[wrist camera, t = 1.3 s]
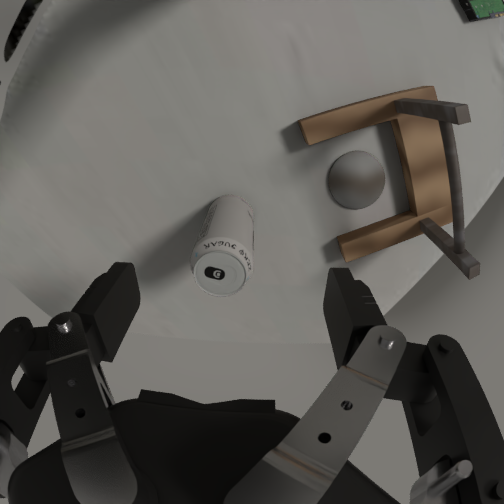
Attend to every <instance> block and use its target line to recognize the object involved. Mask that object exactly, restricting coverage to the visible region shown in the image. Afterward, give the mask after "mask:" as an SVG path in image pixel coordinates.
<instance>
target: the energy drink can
mask: <svg viewBox="0 0 504 504" xmlns="http://www.w3.org/2000/svg"><path fill="white" fill-rule="evenodd" d="M190 266H191V270H192V273H193V275H194V279H195V282H196V283H197V285H198V286H199V287H200V288H201V289H202V290H203V291H204V292H206V293H208V294H210V295H213V296H218V297H226V296H230V295H233V294H235V293H237V292H238V291H240V290H241V289H242V287H243V286H244V284H245V283H247V281H248V280H249V279H250V277H251V275H252V273H253V268H254V213H253V210H252V207H251V206H250V204H249V203H248V202H247V201H246V200H245V199H243V198H241V197H239V196H236V195H225V196H222V197H219V198H218V199H216V200H215V201H214V202H213V203H212V204H211V206H210V208H209V210H208V213H207V215H206V218H205V221H204V223H203V226H202V228H201V231H200V233H199V236H198V239H197V241H196V244H195V247H194V249H193V252H192V255H191V259H190Z"/></svg>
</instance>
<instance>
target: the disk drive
mask: <svg viewBox="0 0 504 504" xmlns="http://www.w3.org/2000/svg"><path fill="white" fill-rule="evenodd" d="M459 2H460V4H461V6H462V8H463V10H464V11H465V13H466V15H467V17H468V19H469V21H470V22H472V21H477V20H482V19H488V18H494V17H499V16H504V1H503V0H459Z"/></svg>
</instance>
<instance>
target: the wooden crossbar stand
mask: <svg viewBox="0 0 504 504" xmlns="http://www.w3.org/2000/svg"><path fill="white" fill-rule="evenodd" d="M389 120H390V121H391V125H392V129H393V132H394V136H395V140H396V144H397V148H398V152H399V156H400V160H401V165H402V169H403V174H404V179H405V184H406V189H407V195H408V200H409V206H410V210H409V211H406V212H404V213H401V214H398V215H395V216H393V217H390V218H387V219H384V220H382V221H379V222H376V223H373V224H371V225H368V226H365V227H362V228H359V229H357V230H354V231H351V232H348V233H345V234H343V235H340V236H337V239H338V243H339V246H340V250H341V253H342V256H343V258H344V260H345V262H349V261H352V260H355V259H357V258H360V257H363V256H366V255H368V254H371V253H374V252H376V251H379V250H382V249H384V248H387V247H390V246H392V245H395V244H398V243H400V242H403V241H405V240H408V239H411V238H413V237H416V236H418V235H421V234H423V233H424V234H425V235H426V236H427V237H428V238H429V239H430V240H431V241H432V242H433V243H434V244H435V245H436V246H438V247H439V248H440V250H441V251H442V252H443V253H444V254H446V256H447V257H448V258H449V259H450V260H451V261H452V262H453V263H454V264H455V265H456V266H457V267H458V268H459V269H460V270H461V271H462V272H463V273H464V275H465V276H466V277H467V278H468V279H469V280H470V279H472V278H474V277H476V276H477V275H479V273H480V263H479V262H478V261H477V260H476V259H475V258H474V257H473V256H472V255H471V254H470V253H469V252H468V251H467V250H466V249H465V235H464V234H465V233H464V210H463V197H462V186H461V177H460V169H459V162H458V155H457V149H456V143H455V137H454V132H453V127H452V123H453V124H457V125H460V124H464V123H468V122H471V119H470V114H469V109H468V105H467V104H460V103H453V102H445V101H438V100H437V96H436V92H435V89H434V86H422V87H417V88H412V89H408V90H403V91H399V92H394V93H390V94H386V95H382V96H378V97H374V98H370V99H366V100H363V101H359V102H355V103H352V104H348V105H345V106H341V107H338V108H335V109H331V110H328V111H325V112H322V113H319V114H315V115H312V116H309V117H306V118H303V119H300V120H297V121H298V123H299V126H300V128H301V131H302V134H303V136H304V139H305V142H306V143H307V144H308V145H312V144H314V143H317V142H320V141H323V140H326V139H330V138H333V137H336V136H339V135H342V134H345V133H348V132H352V131H355V130H358V129H361V128H365V127H368V126H372V125H375V124H379V123H382V122H386V121H389ZM384 185H385V173H384V169H383V167H382V165H381V163H380V162H379V161H378V160H377V159H376V158H375V157H374V156H373V155H371V154H369V153H367V152H363V151H352V152H348V153H346V154H344V155H342V156H341V157H340V158H338V159H337V160H336V162H335V163H334V164H333V166H332V168H331V170H330V174H329V188H330V191H331V193H332V195H333V197H334V198H335V199H336V201H337V202H338V203H340V204H341V205H343V206H344V207H347V208H350V209H362V208H365V207H368V206H370V205H371V204H373V203H374V202H375V201H376V200H377V199H378V198H379V197H380V195H381V193H382V191H383V189H384ZM451 222H453V233H454V238H452V237H451V236H450V235H449V234H448V233H447V232H446V231H444V230H443V229H442V228H441V226H444V225H446V224H449V223H451Z"/></svg>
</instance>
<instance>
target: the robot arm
mask: <svg viewBox="0 0 504 504" xmlns="http://www.w3.org/2000/svg"><path fill="white" fill-rule="evenodd" d="M89 287H90V288H88V289H87V290H86V292H85V294H83V296H82V297H81V298H80V299H79V301H78V302H77V303H76V305H75V306H74V308H73V309H72V310H71V312H63V313H60V314H58V315H56V316H55V317H53V318H52V319H51V320H50V322H49V324H48V326H45V327H34V328H33V326H32V323H31V322H30V320H29V319H28V318H27V317H18V318H15V319H13V320H11V321H10V322H9V323H7V324H6V325H5V327H4V328H3V329H2V331H1V332H0V498H8V501H9V504H400V503H399V502H398V501H397V500H395V499H394V498H392V497H391V496H390V495H389V494H388V493H386V492H385V491H384V490H383V489H382V488H380V487H379V486H378V485H377V484H375V483H374V482H373V481H372V480H371V479H369V478H368V477H367V476H366V475H365V474H363V473H362V472H361V471H360V470H359V469H358V468H357V467H355V466H354V465H353V464H352V463H351V462H350V461H349V460H348V458H349V456H350V455H351V453H352V452H353V450H354V449H355V447H356V445H357V444H358V442H359V440H360V439H361V437H362V435H363V433H364V432H365V430H366V428H367V427H368V425H369V423H370V421H371V419H372V418H373V416H374V414H375V412H376V410H377V408H378V406H379V404H380V403H381V401H382V399H383V398H386V399H394V400H400V401H402V404H403V408H404V411H405V415H406V419H407V423H408V427H409V430H410V435H411V439H412V443H413V448H414V452H415V457H416V461H417V466H418V471H419V476H420V478H419V479H418V480H417V481H416V482H415V483H414V485H413V486H412V489H411V492H410V504H504V440H503V437H502V434H501V432H500V429H499V427H498V424H497V422H496V419H495V417H494V414H493V412H492V410H491V407H490V405H489V403H488V400H487V398H486V396H485V394H484V391H483V389H482V387H481V385H480V383H479V381H478V379H477V377H476V375H475V373H474V371H473V369H472V367H471V365H470V363H469V361H468V359H467V357H466V355H465V353H464V351H463V349H462V348H461V346H460V344H459V343H458V342H457V341H456V340H455V339H453V338H451V337H449V336H447V335H440V334H439V335H435V336H432V337H431V338H430V339H429V341H428V343H427V345H422V344H416V343H410V342H407V341H406V338H405V336H404V335H403V333H402V332H400V331H399V330H398V329H396V328H394V327H391V326H387V324H386V321H385V319H384V317H383V315H382V313H381V311H380V309H379V307H378V305H377V304H376V301H375V299H374V297H373V295H372V293H371V291H370V289H369V287H368V286H367V285H365V284H364V283H363V282H362V281H361V280H354V278H353V276H352V274H351V272H350V270H349V268H330V269H329V272H328V278H327V284H326V290H325V296H324V303H323V310H324V316H325V320H326V324H327V328H328V332H329V336H330V340H331V344H332V348H333V352H334V357H335V361H336V365H337V369H338V371H337V373H336V374H335V375H334V377H333V378H332V380H331V381H330V382H329V384H328V385H327V386H326V388H325V389H324V390H323V392H322V393H321V394H320V396H319V397H318V398H317V400H316V401H315V402H314V403H313V405H312V406H311V407H310V408H309V410H308V411H307V412H306V413H305V415H304V416H303V417H302V418H301V419H300V418H298V417H296V416H294V415H292V414H290V413H287V412H284V411H281V410H276V409H275V400H251V399H239V400H232V401H226V402H219V403H211V404H202V403H198V402H195V401H192V400H189V399H186V398H183V397H180V396H177V395H174V394H171V393H163V392H156V391H149V390H143V389H141V392H140V394H139V397H138V398H137V399H130V400H125V401H122V402H119V403H115V401H114V399H113V396H112V394H111V391H110V388H109V386H108V383H107V381H106V378H105V375H104V373H103V370H102V367H101V365H100V362H101V361H107V362H112V361H113V359H114V357H115V355H116V353H117V351H118V349H119V347H120V344H121V342H122V340H123V338H124V336H125V334H126V332H127V330H128V328H129V326H130V324H131V322H132V320H133V318H134V316H135V314H136V312H137V310H138V308H139V306H140V291H139V287H138V282H137V277H136V272H135V267H134V265H133V263H127V262H115V263H114V264H113V265H112V266H111V268H110V269H109V270H108V271H107V273H103V274H102V275H101V276H99V277H98V278H96V279H95V280H94V281H93V283H92V284H91V285H90V286H89ZM19 365H20V367H21V368H22V370H23V371H24V374H23V376H22V378H21V380H20V382H19V383H18V385H17V387H16V389H15V391H14V390H13V388H12V385H11V380H12V376H13V375H14V373H15V371H16V369H17V368H18V366H19ZM50 393H51V397H52V403H53V408H54V413H55V417H56V421H57V426H58V430H59V433H60V439H59V440H57V441H56V442H54V443H53V444H51V445H49V446H48V447H46V448H45V449H43V450H41V451H40V452H38V453H36V454H35V455H33V456H31V457H30V458H28V452H27V447H28V444H29V442H30V439H31V436H32V434H33V432H34V429H35V427H36V424H37V422H38V419H39V417H40V414H41V412H42V410H43V408H44V405H45V403H46V401H47V399H48V396H49V394H50Z"/></svg>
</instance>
